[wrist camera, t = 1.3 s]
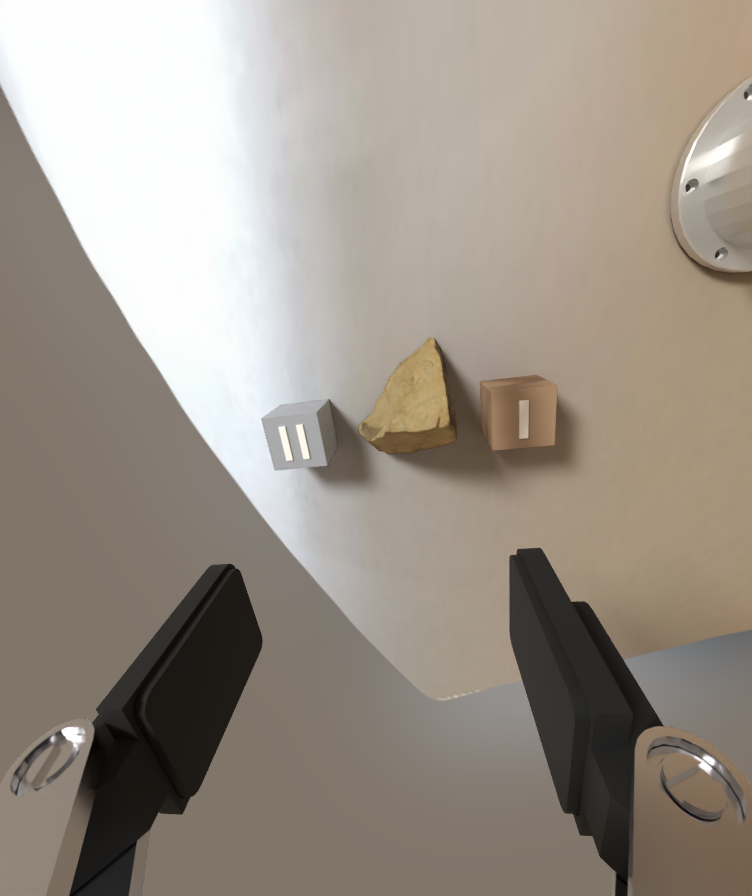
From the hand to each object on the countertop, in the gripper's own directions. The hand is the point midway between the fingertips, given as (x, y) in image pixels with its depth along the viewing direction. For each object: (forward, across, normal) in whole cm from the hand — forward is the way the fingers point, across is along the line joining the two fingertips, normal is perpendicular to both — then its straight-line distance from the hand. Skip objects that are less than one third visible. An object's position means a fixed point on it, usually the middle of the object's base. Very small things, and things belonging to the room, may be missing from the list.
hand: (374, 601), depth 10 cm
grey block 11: (+26, +10, +2) cm, 28 cm away
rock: (+26, 0, 0) cm, 26 cm away
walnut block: (+26, -10, +2) cm, 28 cm away
